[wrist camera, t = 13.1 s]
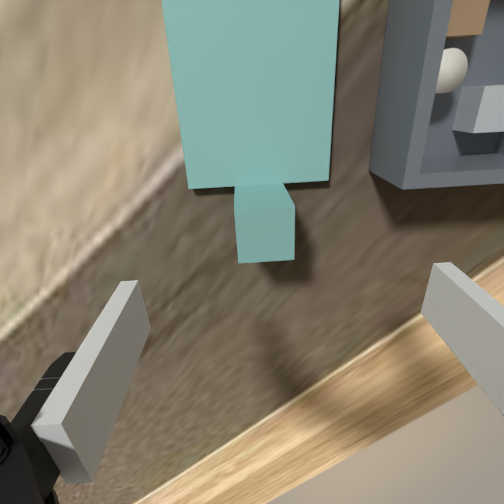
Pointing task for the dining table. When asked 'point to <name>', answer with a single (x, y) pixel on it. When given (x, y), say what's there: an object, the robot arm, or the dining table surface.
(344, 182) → the dining table surface
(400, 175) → the tub
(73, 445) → the robot arm
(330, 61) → the lid
